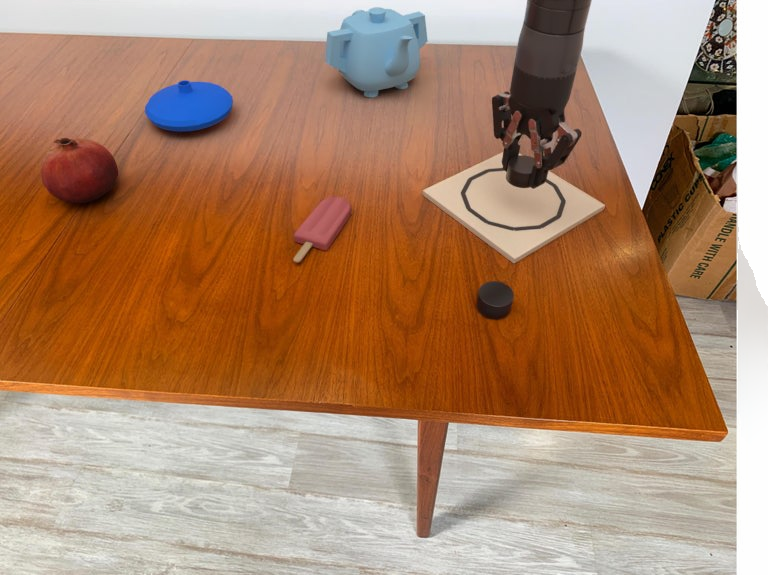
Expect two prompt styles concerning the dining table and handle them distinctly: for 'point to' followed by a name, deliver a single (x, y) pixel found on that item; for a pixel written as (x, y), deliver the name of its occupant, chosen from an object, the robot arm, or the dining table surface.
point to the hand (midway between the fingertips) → (522, 176)
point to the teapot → (377, 49)
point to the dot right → (494, 300)
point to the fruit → (78, 170)
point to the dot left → (520, 171)
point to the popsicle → (322, 225)
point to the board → (512, 208)
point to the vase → (189, 106)
